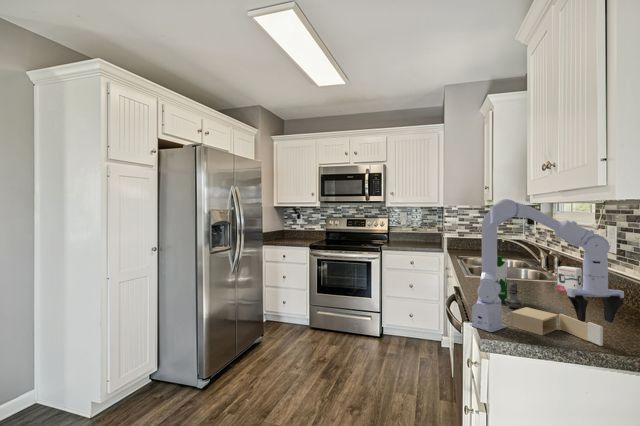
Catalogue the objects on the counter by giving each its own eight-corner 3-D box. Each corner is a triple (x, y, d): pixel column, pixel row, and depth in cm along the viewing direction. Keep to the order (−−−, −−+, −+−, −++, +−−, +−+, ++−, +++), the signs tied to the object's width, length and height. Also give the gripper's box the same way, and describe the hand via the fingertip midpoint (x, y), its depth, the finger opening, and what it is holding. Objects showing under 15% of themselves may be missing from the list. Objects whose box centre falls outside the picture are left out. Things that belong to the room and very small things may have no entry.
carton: (542, 335, 104) (542, 320, 104) (510, 326, 112) (510, 311, 112) (557, 329, 109) (557, 314, 109) (526, 320, 117) (526, 307, 117)
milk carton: (488, 303, 140) (488, 256, 139) (480, 297, 149) (480, 254, 148) (510, 303, 139) (510, 257, 139) (500, 298, 148) (500, 254, 148)
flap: (602, 346, 95) (602, 326, 95) (600, 346, 94) (600, 326, 94) (561, 328, 109) (561, 311, 109) (559, 328, 109) (559, 311, 109)
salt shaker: (513, 312, 127) (513, 281, 127) (501, 307, 133) (501, 278, 133) (525, 310, 129) (525, 280, 129) (512, 306, 135) (512, 277, 135)
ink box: (556, 290, 161) (556, 266, 161) (562, 289, 164) (562, 265, 164) (576, 294, 154) (576, 269, 154) (582, 292, 156) (582, 268, 156)
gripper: (610, 273, 100) (610, 317, 100) (560, 272, 101) (560, 316, 101) (630, 277, 93) (630, 325, 93) (576, 277, 94) (576, 324, 94)
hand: (594, 321), depth 97 cm, fingers open, 7 cm apart
